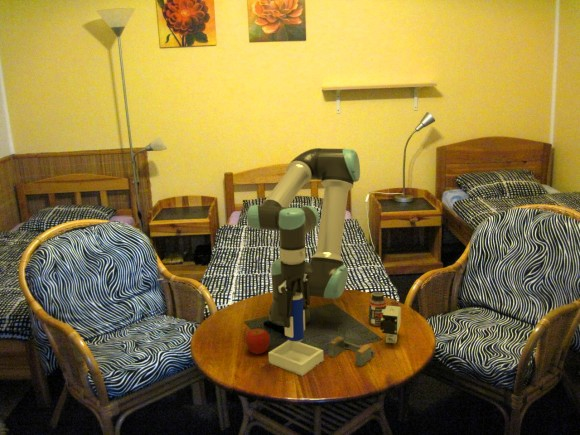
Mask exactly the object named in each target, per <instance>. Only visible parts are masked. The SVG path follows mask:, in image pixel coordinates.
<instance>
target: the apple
mask: <svg viewBox="0 0 580 435" xmlns="http://www.w3.org/2000/svg"><path fill="white" fill-rule="evenodd" d="M245 343H246V347H247V349H248V350H249V351H250V352H251V353H252V354H255V355H261V354H263V353H265V352H267V350H268V348H269V346H270V343H271V336H270V334H269V332H268V331H266V330H265V329H263V328H253V329H250V330H249V331H247V333H246V336H245Z"/></svg>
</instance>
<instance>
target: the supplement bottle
mask: <svg viewBox="0 0 580 435" xmlns="http://www.w3.org/2000/svg"><path fill="white" fill-rule="evenodd" d="M368 302H369V303H368V323H369V325H371V326H373V327H380V324H381V319H382V316H383V313H382V310H383V309H386V306H387V300H386V299H385V298H384V293H383V292H381V291H373V292H372V294H371V298H370V299H369V300H368Z"/></svg>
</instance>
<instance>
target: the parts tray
mask: <svg viewBox="0 0 580 435" xmlns="http://www.w3.org/2000/svg"><path fill="white" fill-rule="evenodd" d="M267 354H268V363H269V365H273V366H275V367H278V368H279V369H282V370H285V371H288V372H291V373H293V374H296V375H298V376H301V377H303V376H304V375H306V374H307V373H308V372H310V371H311V370H313V369H314V368H316V367H317V366H318V365H320V364H321V363H323V362H324V350H323V349H321V348H319V347H315V346H313V345H309V344H306V343H303V342H302V341H300V342H290V341H289V340H288V339H287V340H286V341H285V342H283V343H282V344H280V345H279V346H277V347H275V348H273V349H272V350H270V351H269V352H268V353H267ZM320 362H321V363H320ZM319 363H320V364H319ZM316 365H317V366H316Z"/></svg>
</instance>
